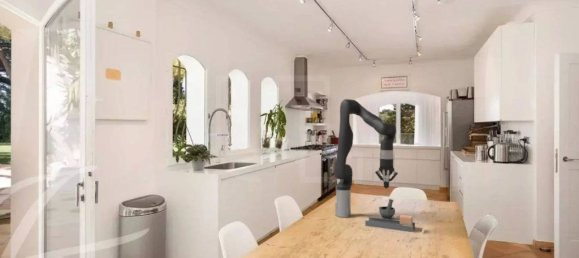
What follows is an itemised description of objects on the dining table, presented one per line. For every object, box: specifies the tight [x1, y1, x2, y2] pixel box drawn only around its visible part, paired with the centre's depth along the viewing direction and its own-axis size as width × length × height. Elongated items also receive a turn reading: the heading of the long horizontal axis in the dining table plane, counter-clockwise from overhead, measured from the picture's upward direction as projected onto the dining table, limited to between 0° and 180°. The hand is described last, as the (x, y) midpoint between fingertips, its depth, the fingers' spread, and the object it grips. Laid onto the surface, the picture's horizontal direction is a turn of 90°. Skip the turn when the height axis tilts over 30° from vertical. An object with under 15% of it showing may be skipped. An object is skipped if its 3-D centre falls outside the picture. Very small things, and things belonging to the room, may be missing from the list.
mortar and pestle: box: [378, 198, 396, 220], centre depth 215 cm, size 11×9×12 cm
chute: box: [364, 216, 416, 233], centre depth 196 cm, size 26×9×4 cm, turn 63°
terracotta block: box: [399, 214, 414, 226], centre depth 192 cm, size 6×6×7 cm
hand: (386, 188), depth 197 cm, fingers closed
